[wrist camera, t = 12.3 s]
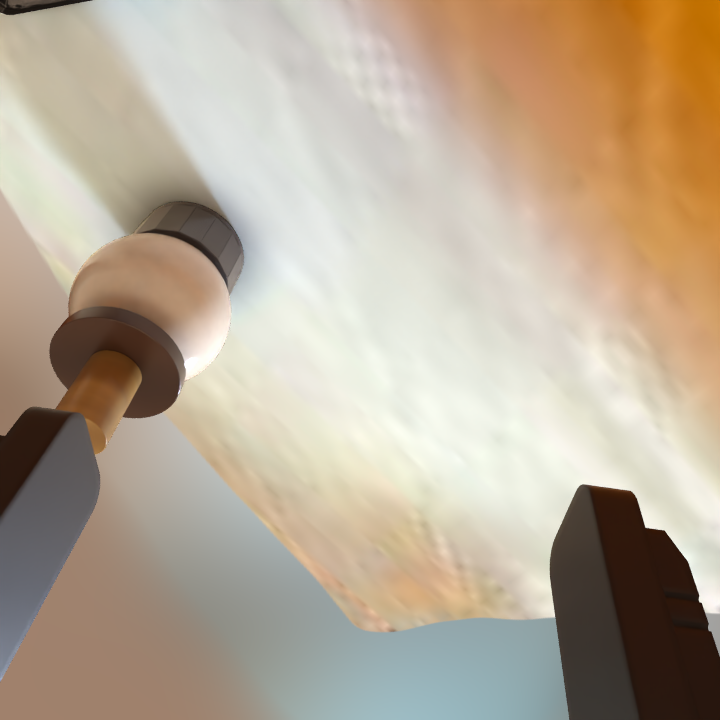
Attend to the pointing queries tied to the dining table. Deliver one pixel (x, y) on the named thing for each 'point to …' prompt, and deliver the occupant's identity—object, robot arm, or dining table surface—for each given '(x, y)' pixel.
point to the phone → (31, 5)
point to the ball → (160, 291)
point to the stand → (200, 235)
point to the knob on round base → (115, 368)
